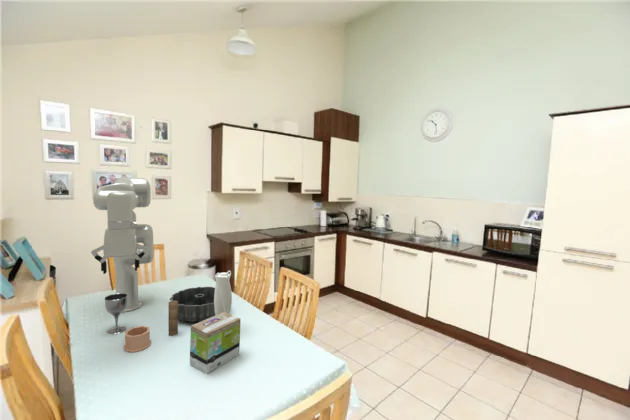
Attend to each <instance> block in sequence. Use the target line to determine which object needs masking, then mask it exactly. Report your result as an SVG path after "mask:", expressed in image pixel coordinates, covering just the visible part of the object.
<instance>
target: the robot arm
mask: <svg viewBox="0 0 630 420" xmlns="http://www.w3.org/2000/svg"><path fill="white" fill-rule="evenodd" d="M151 189H152V187H151V185H150V182H149V180H147V178H142V177H141V178H140V177H120V178H117V179H115V181H114V182H113V183H112V184H107V185H103V186H99V187H97V189H96V190H95V191H94V194H93V197H92V199H93V200H92V202H93V205H94V207H95V208H96V209H97V210H99V211H106V212H107V229H106V228H105V229H104V236H103V245H100V246H99V247H97V248H95V249H94V248H93V249H92V250H91V251H90V253H91V255H92V256H93V257H94V259H95V260H97V261H98V262H99V263H100V271H101V272H103V275H105V274H107V270H108V269H107V267H108V265H107V264H108V263H107V259H109V258H113V264H114V269H115V294H117V293H125V294H127V304H126V307H125V309H124V310H123V311H122V313H128V312H131V311H132V312H133V311H136V310H138V309H139V308H141V307H142V305H143V304H142V303H143V302H142V301H140V300H139V272H138V269H139V268H140V265H143V264H150V263H151V262H153V261H154V256H155V255H154V253H155V252H154V231H153V230H154V229H153V227H152V226H151V225H150V224H148V223H147V224H145V223H144V224H143V223H141V224H140V223H139V224H138V223H137V213H136V212H135V211H134V210H135V209H136V208H146V207H149V206H150V205H151V199H152V196H151V194H152V192H151ZM100 251H103V256H101V255H99V254H98V252H100Z"/></svg>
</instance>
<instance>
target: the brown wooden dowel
mask: <svg viewBox="0 0 630 420" xmlns="http://www.w3.org/2000/svg"><path fill="white" fill-rule="evenodd" d="M167 304H168V337H169V336H170V337H173V336H177V335H178V333H179V332H178V331H179V319H178V301H171V300H170V301H168V303H167Z"/></svg>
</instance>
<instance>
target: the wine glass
mask: <svg viewBox="0 0 630 420" xmlns="http://www.w3.org/2000/svg"><path fill="white" fill-rule="evenodd" d="M126 304H127V294H125V293H117V294H116V293H113V294H112V293H111V294H108V295H107V296H106V295H105V297H104V306H105V309H106V312H107V313H109V314H110V315H111V316H113V318H114V321H115V326H113V327H111V328H109V329H107V331H106V334H108V335H116V334H121V333H123V332H125V331H127V327H126V326H123V325H119V317H120V315H121V314H122V313H123V312H122V311H123V310H124V309H125V307H126ZM118 325H119V326H118Z"/></svg>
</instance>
